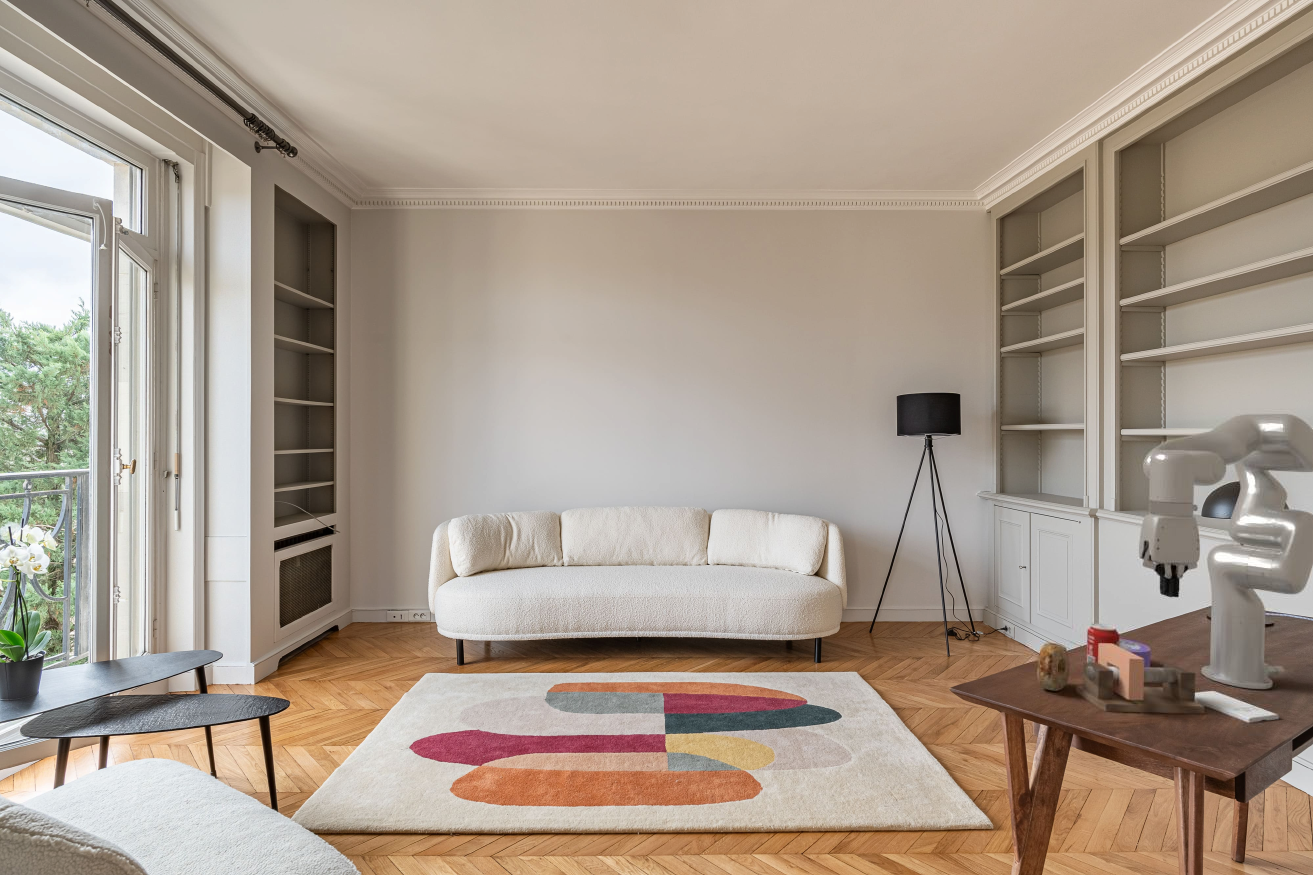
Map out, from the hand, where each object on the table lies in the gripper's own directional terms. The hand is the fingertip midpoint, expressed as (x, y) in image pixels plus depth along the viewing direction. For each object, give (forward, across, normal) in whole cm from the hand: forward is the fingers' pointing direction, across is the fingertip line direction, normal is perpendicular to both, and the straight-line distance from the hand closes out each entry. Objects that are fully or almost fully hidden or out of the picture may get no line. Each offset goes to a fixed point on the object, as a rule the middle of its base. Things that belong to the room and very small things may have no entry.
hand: (1169, 595), depth 144 cm
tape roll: (+24, -6, -24) cm, 35 cm away
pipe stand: (+23, +7, +1) cm, 24 cm away
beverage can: (+23, +5, -14) cm, 28 cm away
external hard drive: (+24, -11, +2) cm, 27 cm away
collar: (+20, +11, +1) cm, 23 cm away
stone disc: (+23, +21, -6) cm, 32 cm away
